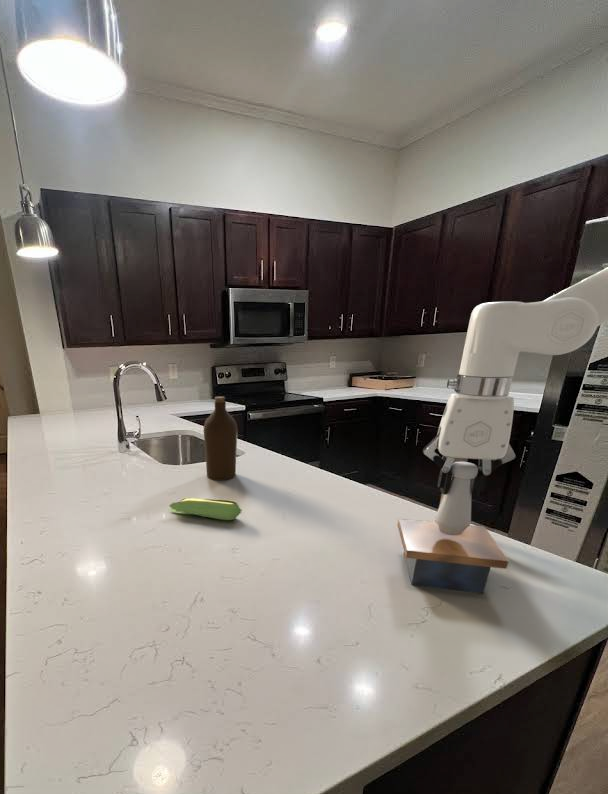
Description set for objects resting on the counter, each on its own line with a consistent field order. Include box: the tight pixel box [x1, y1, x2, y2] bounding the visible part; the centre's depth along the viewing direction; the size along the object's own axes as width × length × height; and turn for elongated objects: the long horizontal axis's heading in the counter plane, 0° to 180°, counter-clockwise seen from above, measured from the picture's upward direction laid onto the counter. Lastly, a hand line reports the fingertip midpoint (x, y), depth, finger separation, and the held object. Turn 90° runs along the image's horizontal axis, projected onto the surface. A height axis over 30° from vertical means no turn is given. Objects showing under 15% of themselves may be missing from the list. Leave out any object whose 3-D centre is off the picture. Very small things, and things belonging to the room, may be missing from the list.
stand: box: [397, 518, 509, 594], centre depth 80 cm, size 16×14×8 cm
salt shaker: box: [435, 461, 479, 535], centre depth 75 cm, size 6×6×13 cm
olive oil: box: [203, 396, 239, 481], centre depth 132 cm, size 11×11×25 cm
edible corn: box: [168, 497, 243, 522], centre depth 106 cm, size 5×20×5 cm, turn 71°
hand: (458, 491), depth 75 cm, fingers closed on salt shaker, 4 cm apart
